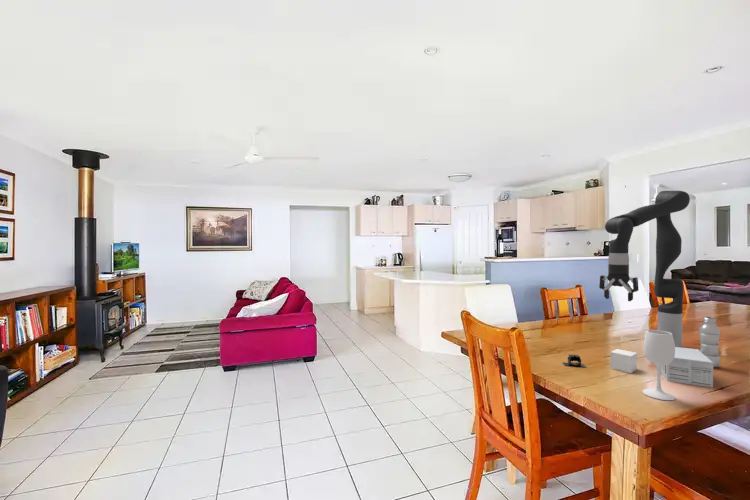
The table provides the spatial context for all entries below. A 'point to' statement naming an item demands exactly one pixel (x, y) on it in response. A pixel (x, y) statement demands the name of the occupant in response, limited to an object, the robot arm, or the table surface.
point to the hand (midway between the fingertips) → (618, 299)
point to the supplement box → (689, 368)
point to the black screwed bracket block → (574, 358)
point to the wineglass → (659, 358)
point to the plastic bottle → (710, 340)
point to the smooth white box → (623, 360)
